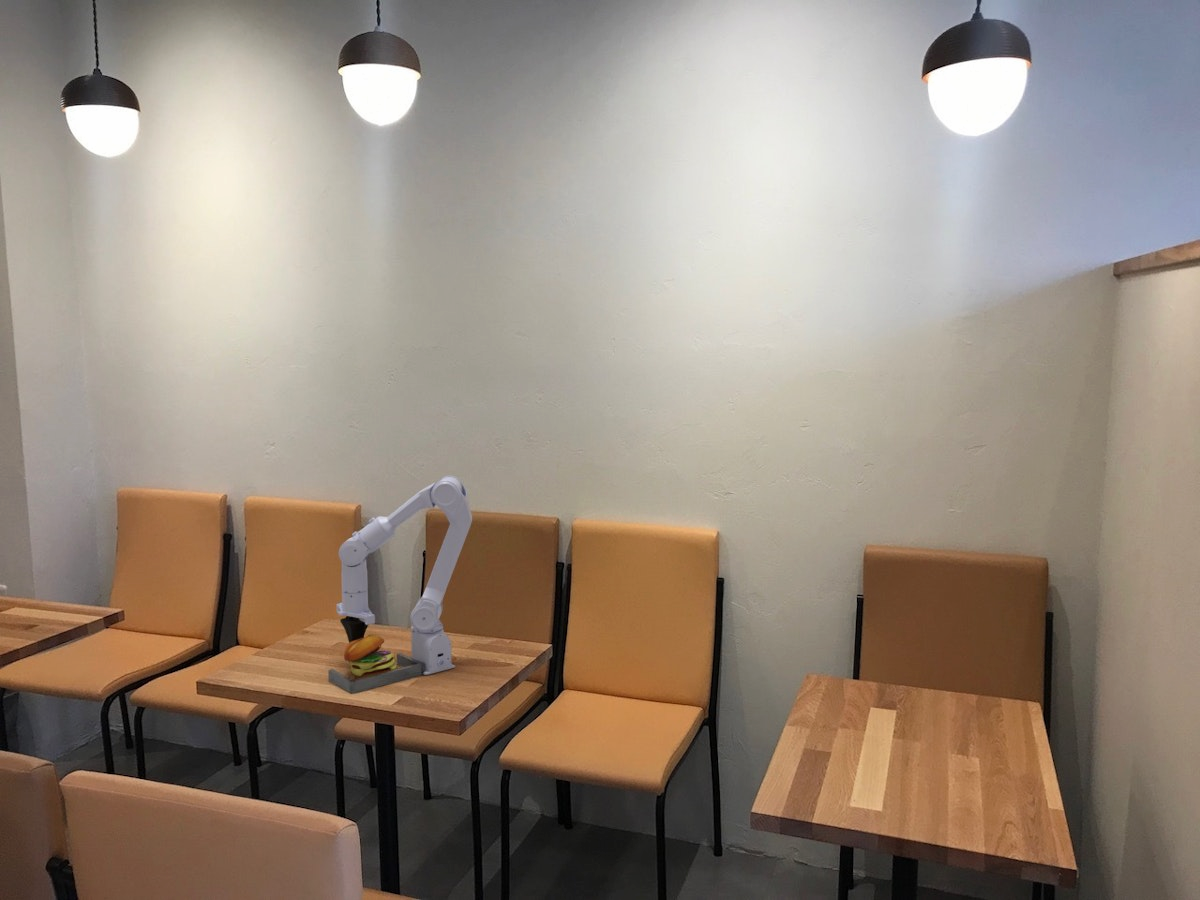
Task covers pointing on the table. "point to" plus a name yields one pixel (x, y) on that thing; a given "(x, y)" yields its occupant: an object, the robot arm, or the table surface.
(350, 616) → the robot arm
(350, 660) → the cheeseburger
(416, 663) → the grey low angled fixture
